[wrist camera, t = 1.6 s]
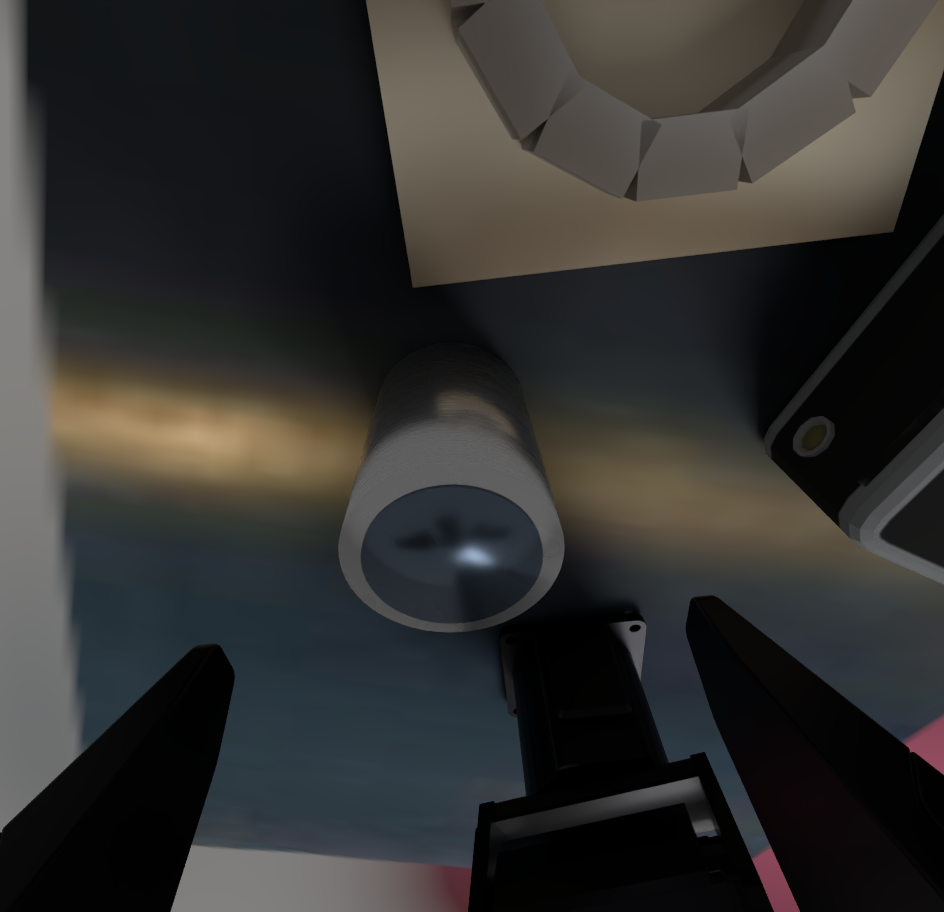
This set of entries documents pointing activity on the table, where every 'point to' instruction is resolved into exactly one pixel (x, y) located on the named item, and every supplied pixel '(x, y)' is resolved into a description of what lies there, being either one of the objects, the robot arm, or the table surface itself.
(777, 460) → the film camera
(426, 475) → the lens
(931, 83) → the mount
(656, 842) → the robot arm
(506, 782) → the table surface
